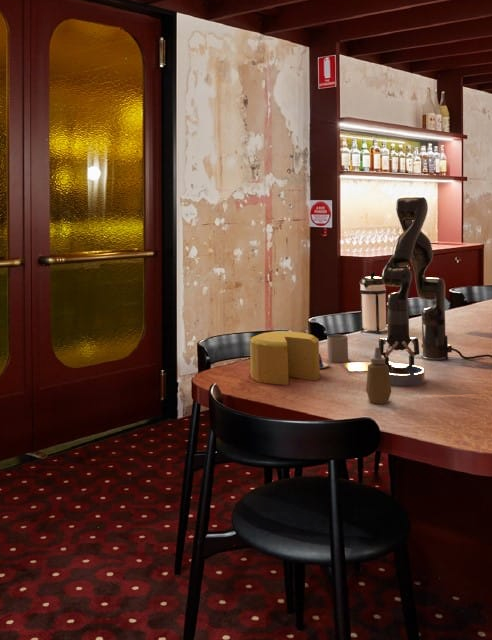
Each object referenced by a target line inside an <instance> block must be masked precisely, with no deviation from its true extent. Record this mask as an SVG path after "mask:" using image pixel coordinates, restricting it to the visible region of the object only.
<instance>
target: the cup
mask: <svg viewBox="0 0 492 640" xmlns="http://www.w3.org/2000/svg"><path fill="white" fill-rule="evenodd" d="M348 338H349V337H348V335H347V334H329V335H326V341H327V344H326V345H327V361H328V362H329V363H333V364H334V363H335V364H336V363H337V364H343V363H349V339H348Z"/></svg>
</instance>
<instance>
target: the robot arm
mask: <svg viewBox="0 0 492 640" xmlns="http://www.w3.org/2000/svg"><path fill="white" fill-rule="evenodd" d="M428 206H429V205H428V201H427V199H426V198H425V197H424V196H400V197H398V198H397V200H396V202H395V211H396V215H397V218H398V221H399V224H400V226H401V229H402V233H401V234H400V235H399V236H398V237H397V239H396V240H395V243H394V246H393V249H392V254H391V256H390V258H389V260H388V262H387V263H386V265H385V266H384V268H383V269H382V272H381V278H382V281H383V283H384V284H385V286H386V287H400V288H399V290H398V291H396V292H390V293H389V294H387V313H386V325H387V327H388V328H387V330H388V331H387V337H386V338H382V337H379V338H378V347H379V348H380V352H381V356H382V357H383V358H385V364H386V365H387V366H388V367H389V362H390V355H391V353H393V351H404V350H405V351H406V352H407V353H408V365H409V366H410V367H413V365H414V366H415V356H417V355H420V342H419V338H417V337H416V336H414V337H410V316H409V315H410V314H409V302H408V299H409V293H410V288H411V284H412V281H413V274H414V281H415V287H416V292H417V296H418V298H419V299H421V300H423V301H435V303H434V304H433V305H432V306H428V307H426V308H423V309H421V339H422V342H421V348H422V359H424V360H430V361H444V360H448V359H449V354H450V353H452V352H455V353H457V354H458V355H459V356H460V357H461V358H462V359H465V360H473V359H477V358H478V359H479V358H486V357H487V358H491V359H492V354H478V355H474V356H465V355H463V354H462V353H461V351H460V350H459V349H456V348H454V347H453V346H452V345H451V344H449V342H448V335H446V332H447V331H446V283H445V282H446V281H445V280H444V279H443V278H442V277H441V278H440V277H426V276H425V273H426V270H427V269H428V267H429V266H430V264H431V263H432V261H433V258H434V251H433V245H432V242H431V240H430V238H429V237H428V236H427V235H426V234H425V233H424V232H423V231H422V228H423V226H424V224H425V222H426V218H427V216H428V208H429V207H428ZM410 264H411V266H412V270H413V273H412V271H411V269H410V268H409V267H408V266H410ZM386 343H387V344H388V346H387V347H386V349H385V348H384V347H385V345H386ZM410 343H412V345H413V350H412V349H411V348H410V346H409V345H410Z"/></svg>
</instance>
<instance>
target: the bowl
mask: <svg viewBox="0 0 492 640" xmlns="http://www.w3.org/2000/svg"><path fill="white" fill-rule="evenodd" d="M394 364H395V363H394ZM394 364H389V367H388V369H389V377H390V384H391V387H392V386H393V387H415V386H420V385H423V384H424V383H425V381H426V379H425V378H426V377H425V369H424V368H423V367H421V366H417V365H415V364H414V365H413V367H410V366H409V364H405V363H401V364H402V365H406V366H407V373H404V375H400V374H396V373H393V372H392V365H394Z"/></svg>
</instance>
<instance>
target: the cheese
mask: <svg viewBox="0 0 492 640" xmlns="http://www.w3.org/2000/svg"><path fill="white" fill-rule="evenodd" d="M249 354H250V356H249V357H250V359H249V360H250V377H251V379H253V380H255V381H257V382H259V383H265V384H271V385H289V378H297V379H303V380H311V381H317V380H319V379H320V369H319V354H320V340H319V338H318V337H316V336H315V335H313V334H310V333H307V332H302V331H269V332H262V333H259V334H257V335H254V336H252V337H251V338H250V339H249Z"/></svg>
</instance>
